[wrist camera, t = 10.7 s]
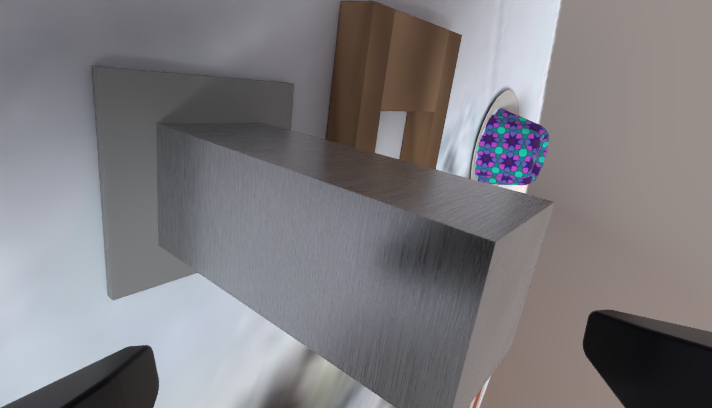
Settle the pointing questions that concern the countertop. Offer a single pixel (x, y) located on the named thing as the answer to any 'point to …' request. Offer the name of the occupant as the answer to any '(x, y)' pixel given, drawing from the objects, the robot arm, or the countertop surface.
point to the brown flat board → (391, 78)
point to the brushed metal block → (354, 252)
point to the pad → (139, 156)
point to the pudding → (509, 146)
